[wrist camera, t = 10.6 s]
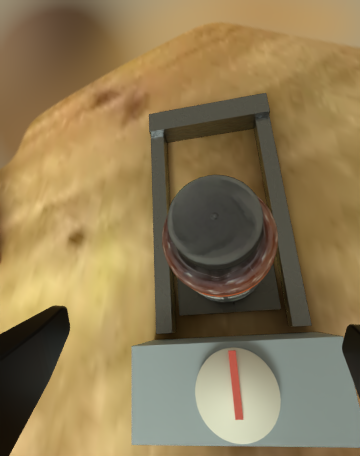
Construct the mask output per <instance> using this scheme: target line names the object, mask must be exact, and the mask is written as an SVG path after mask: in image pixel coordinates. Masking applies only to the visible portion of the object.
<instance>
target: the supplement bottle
mask: <svg viewBox="0 0 360 456" xmlns="http://www.w3.org/2000/svg"><path fill="white" fill-rule="evenodd" d="M162 246H163V251H164V255H165V257H166V260H167V263H168V264H169V267H170V268H171V269H172V271H173V272H174V274H175V275H176V276H177V277H178V278H179V279H180V280H181V281H182V282H183V283H184V284H186V285H187V286H189V287H190V288H192V289H193V290H195V291H196V292H198V293H200V294H201V295H203V296H204V297H206V298H208V299H210V300H213V301H217V302H234V301H238V300H240V299H243V298H245V297H246V296H248V295H249V294H250V293H252V292H253V291H254V290H255V288H256V287H257V286H258V285H259V283H260V282H261V281H262V279H263V278H264V277H265V276H266V274H267V273H268V271H269V269H270V268H271V266H272V264H273V262H274V258H275V255H276V252H277V246H278V232H277V227H276V223H275V220H274V218H273V216H272V213H271V211H270V210H269V208H268V207H267V206H266V204H265V203H264V202H263V201H262V200H261V199H260V198H259V197H258V196H256V194H255V193H254V192H253V191H252V190H251V189H250V188H249V187H248V186H247V185H246V184H244V183H243V182H241V181H239V180H237V179H235V178H232V177H229V176H224V175H209V176H205V177H200V178H198V179H196V180H193V181H192V182H190V183H188V184H187V185H186V186H184V187H183V188H182V189H181V190H180V191H179V192H178V193H177V195H176V196H175V197H174V199H173V201H172V203H171V205H170V208H169V212H168V215H167V217H166V220H165V222H164V226H163V232H162Z"/></svg>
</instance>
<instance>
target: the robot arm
mask: <svg viewBox="0 0 360 456" xmlns="http://www.w3.org/2000/svg"><path fill="white" fill-rule="evenodd" d="M69 331H70V323H69V317H68V311H67V308H66V307H65V306H52V307H50V308H48V309H46V310H44V311H42V312H41V313H39V314H37V315H35V316H33V317H31V318H29V319H28V320H26V321H24V322H22V323H20V324H18V325H16V326H15V327H13V328H11V329H9V330H7V331H5V332H3V333H2V334H0V456H9V455H10V453H11V451H12V449H13V448H14V446H15V444H16V442H17V440H18V438H19V436H20V434H21V433H22V431H23V429H24V427H25V425H26V423H27V421H28V419H29V418H30V416H31V414H32V412H33V410H34V408H35V406H36V404H37V403H38V401H39V399H40V397H41V395H42V393H43V391H44V389H45V388H46V386H47V384H48V382H49V380H50V378H51V375H52V373H53V371H54V369H55V366H56V364H57V361H58V359H59V356H60V354H61V352H62V349H63V347H64V344H65V342H66V339H67V337H68V335H69ZM342 352H343V355H344V358H345V360H346V363H347V366H348V368H349V371H350V374H351V377H352V379H353V382H354V385H355V387H356V390H357V393H358V395H359V398H360V325H354V324H351V325H349V326H348V327H347V329H346V333H345V336H344V340H343V343H342Z"/></svg>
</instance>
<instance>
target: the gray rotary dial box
mask: <svg viewBox="0 0 360 456" xmlns="http://www.w3.org/2000/svg"><path fill="white" fill-rule="evenodd" d="M343 340H344V339H343V336H337V335H332V334H326V333H320V332H303V333H283V334H263V335H243V336H223V337H203V338H183V339H163V340H152V341H149V342H145V343H142V344H138V345H135V346H132V445H185V446H268V447H350V448H360V407H359V403H358V399H357V395H356V390H355V386H354V382H353V379H352V377H351V374H350V371H349V368H348V366H347V363H346V360H345V358H344V355H343V352H342V343H343Z"/></svg>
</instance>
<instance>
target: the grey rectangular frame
mask: <svg viewBox="0 0 360 456" xmlns="http://www.w3.org/2000/svg"><path fill="white" fill-rule="evenodd" d="M269 113H270V109H269V104H268V100H267V95H266V93H263V94H257V95H252V96H246V97H241V98H235V99H230V100H224V101H219V102H213V103H208V104H202V105H197V106H192V107H186V108H181V109H175V110H170V111H164V112H159V113H153V114H149V132H150V134H151V157H152V195H153V232H154V270H155V308H156V334H162V333H174V332H176V318H175V298H174V277H173V271H172V269H171V268H170V267H169V264H168V263H167V260H166V257H165V255H164V251H163V246H162V232H163V226H164V222H165V220H166V217H167V215H168V212H169V208H170V195H169V175H168V155H167V143H168V142H174V141H180V140H186V139H192V138H198V137H205V136H211V135H217V134H223V133H229V132H235V131H241V130H247V129H253V128H254V132H255V137H256V143H257V149H258V154H259V160H260V166H261V171H262V177H263V183H264V188H265V194H266V200H267V205H268V208H269V210H270V211H271V213H272V216H273V218H274V220H275V223H276V227H277V232H278V246H277V252H276V257H277V262H278V268H279V274H280V279H281V285H282V291H283V296H284V302H285V308H286V313H287V319H288V325H289V326H312V325H311V320H310V315H309V310H308V305H307V300H306V295H305V290H304V285H303V280H302V275H301V270H300V265H299V261H298V256H297V251H296V246H295V241H294V236H293V231H292V226H291V221H290V216H289V211H288V206H287V201H286V196H285V191H284V186H283V181H282V176H281V171H280V166H279V161H278V157H277V152H276V147H275V142H274V137H273V132H272V127H271V122H270V117H269ZM177 280H178V298H179V315H195V314H211V313H227V312H243V311H259V310H275V309H281V306H280V300H279V294H278V288H277V283H276V277H275V271H274V265H273V264H272V266H271V268H270V269H269V271H268V273H267V274H266V276H265V277H264V278H263V279H262V281H261V282H260V283H259V285H258V286H257V287H256V288H255V290H254V291H253V292H252V293H250V294H249V295H248V296H246V297H245V298H243V299H240V300H238V301H234V302H217V301H213V300H210V299H208V298H206V297H204V296H203V295H201V294H200V293H198V292H196V291H195V290H193V289H192V288H190V287H189V286H187V285H186V284H184V283H183V282H182V281H181V280H180V279H179V278H178V277H177Z"/></svg>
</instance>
